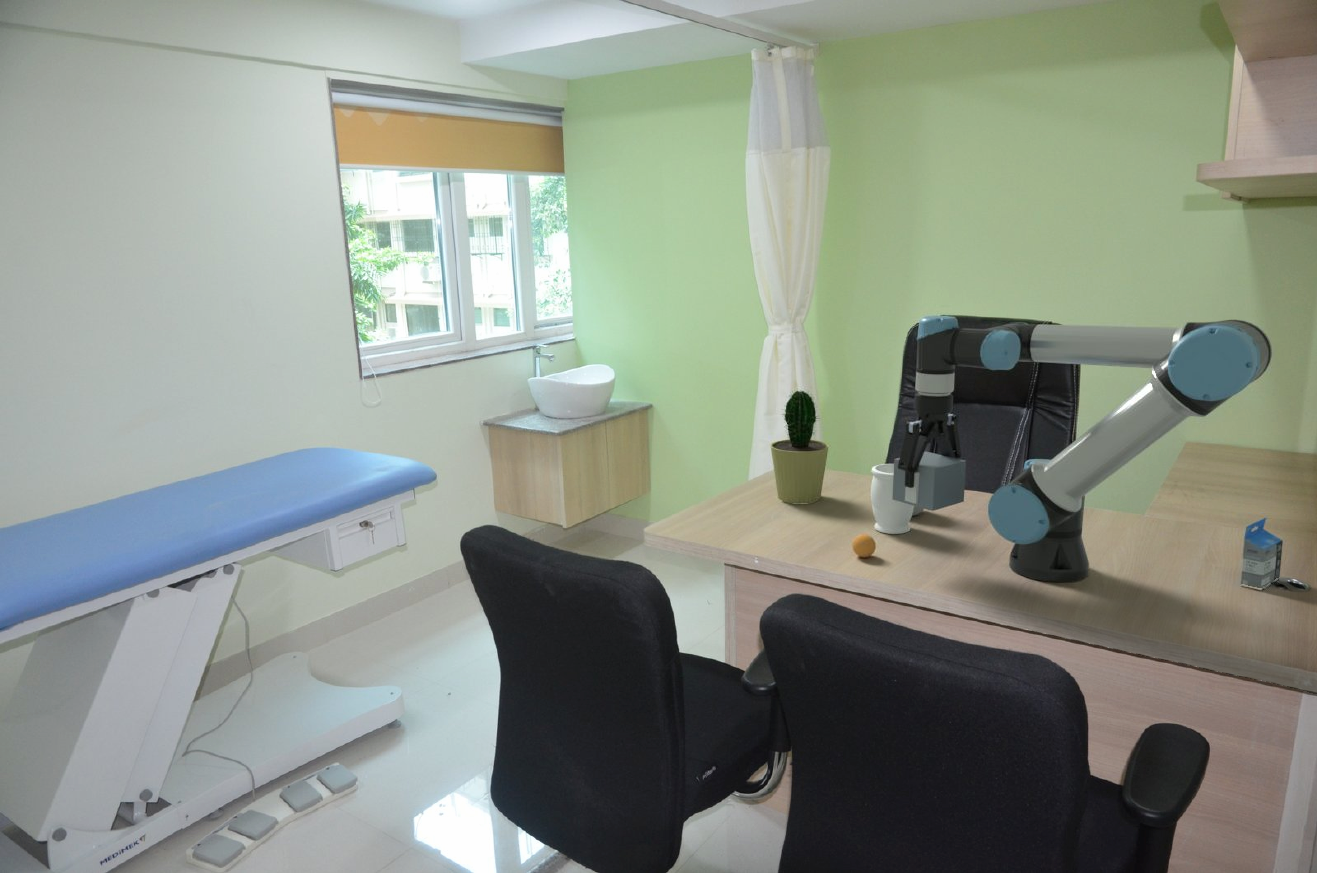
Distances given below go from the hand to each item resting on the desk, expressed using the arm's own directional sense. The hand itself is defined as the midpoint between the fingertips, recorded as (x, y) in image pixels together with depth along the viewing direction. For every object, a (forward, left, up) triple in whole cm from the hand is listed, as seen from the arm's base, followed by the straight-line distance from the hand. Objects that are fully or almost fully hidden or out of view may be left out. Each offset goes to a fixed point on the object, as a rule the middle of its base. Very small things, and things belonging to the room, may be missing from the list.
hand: (928, 497), depth 185 cm
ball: (+12, +5, -13) cm, 18 cm away
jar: (+19, -15, -15) cm, 29 cm away
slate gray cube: (0, 0, -1) cm, 1 cm away
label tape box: (-50, -38, -15) cm, 65 cm away
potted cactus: (+52, -19, -15) cm, 58 cm away
